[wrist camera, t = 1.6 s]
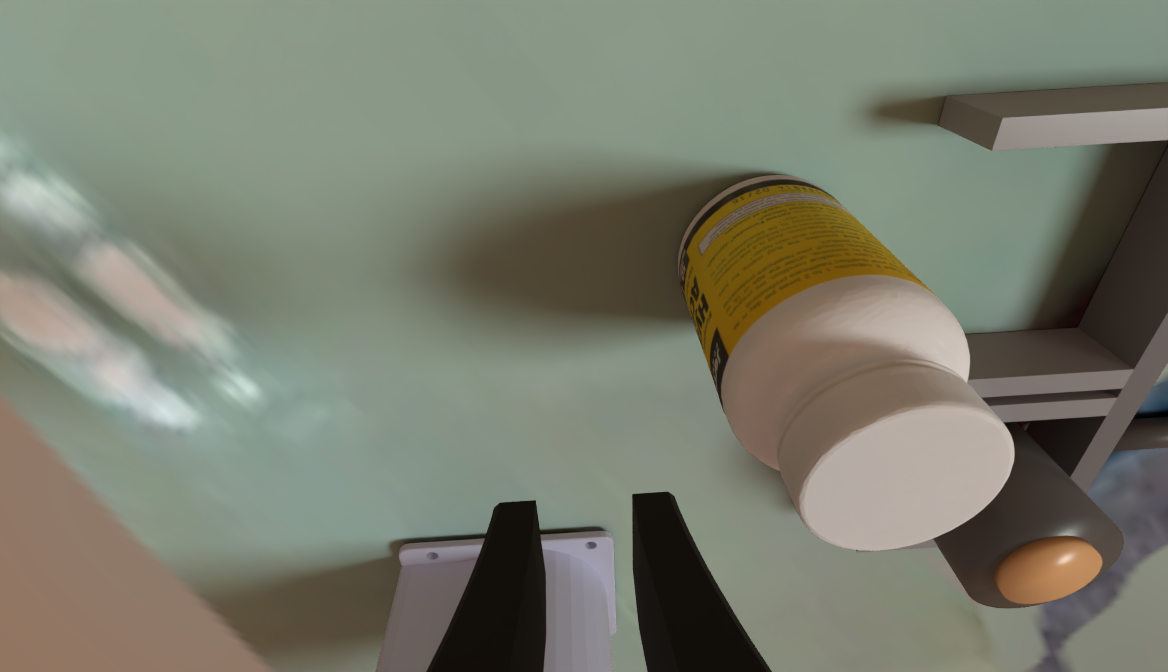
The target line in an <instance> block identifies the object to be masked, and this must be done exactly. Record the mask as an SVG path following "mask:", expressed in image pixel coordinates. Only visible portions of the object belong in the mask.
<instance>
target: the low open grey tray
mask: <svg viewBox="0 0 1168 672" xmlns="http://www.w3.org/2000/svg"><path fill="white" fill-rule="evenodd" d="M939 126H941V127H943V128H945V129H947V130H949V131H951V132H953V133H956V134H958V135H960V136H962V137H964V138H966V139H968V140H970V141H972V142H974V143H977V144H979V145H981V146H983V147H985V148H987V149H989V150H991V151H996V150H1012V149H1029V148H1045V147H1061V146H1077V145H1094V144H1110V143H1126V142H1142V141H1159V140H1168V83H1152V84H1136V85H1120V86H1103V87H1087V88H1070V89H1054V90H1037V91H1021V92H1004V93H988V94H972V95H955V96H946V100H945V103H944V107H943V110H942V114H941V118H940V121H939ZM965 337H966V339H967V343H968V348H969V353H970V368H969V376H968V381H967V383H968V384H969V385H970V386H971V387H972V388H973V389H974V390H975V391H976V392H977V394H978V395H979V396H980V397H981V398H982V399H983V400H984V401H985V402H986V403H987V405H988V406H989V407H990V408H991V409H992V411H993V412H994V413H995V414H996V415H997V416H998V417H999V418H1000V419H1001V421H1002V422H1003V423H1004V424H1005V426H1006V427H1007V429H1008V431H1009V432H1010V434H1011V437H1012V440H1013V443H1014V452H1015V455H1014V463H1013V466H1012V469H1011V473H1010V475H1009V477H1008V479H1007V481H1006V483H1005V484H1004V486H1003V487H1002V489H1001V491H1000V492H999V493H998V494H997V495H996V497H995V498H994V499H993V500H992V501H991V502H990V503H989V504H988V505H987V506H986V507H985V508H984V509H983V510H981V511H980V512H979V513H978V514H976V515H975V516H974V517H972V518H971V519H969V520H968V521H966V522H965V523H963V524H961V525H959V526H958V527H956V528H954V529H953V530H951V531H949V532H947V533H944V534H942V535H940V536H938V537H935V538H933V539H930V540H927V541H925V542H921V543H918V544H914V545H911V546H906V547H901V548H896V549H889V550H900V549H915V548H930V547H938V548H939V549H940V551H941V552H942V554H943V555H944V557H945V559H946V560H947V562H948V563H949V565H950V566H951V568H952V570H953V571H954V573H955V574H956V576H957V577H958V579H959V581H960V582H961V584H962V585H963V587H964V589H965V590H966V592H967V593H968V595H969V596H970V597H971V598H972V599H973V600H975V601H976V602H978V603H980V604H983V605H986V606H990V607H995V608H1021V607H1029V606H1034V605H1039V604H1043V603H1047V602H1050V601H1053V600H1056V599H1059V598H1062V597H1065V596H1067V595H1069V594H1071V593H1073V592H1075V591H1077V590H1079V589H1081V588H1083V587H1085V586H1087V585H1088V584H1090V583H1092V582H1093V581H1094V580H1096V579H1097V578H1099V577H1100V576H1101V575H1102V574H1104V573H1105V572H1106V571H1107V570H1108V569H1109V568H1110V567H1111V566H1112V565H1113V564H1114V562H1115V561H1116V560H1117V558H1118V557H1119V555H1120V553H1121V551H1122V548H1123V544H1124V540H1123V535H1122V532H1121V531H1120V529H1119V528H1118V527H1117V526H1116V525H1115V524H1114V523H1113V522H1112V521H1111V520H1110V518H1109V517H1108V516H1107V515H1106V514H1105V513H1104V512H1103V511H1102V510H1101V509H1100V508H1099V507H1098V506H1097V505H1096V504H1095V503H1094V502H1093V501H1092V500H1091V499H1090V498H1089V497H1088V496H1087V495H1086V492H1087V491H1088V489H1089V488H1090V486H1091V484H1092V483H1093V481H1094V480H1095V478H1096V476H1097V475H1098V473H1099V472H1100V470H1101V468H1102V467H1103V465H1104V464H1105V462H1106V460H1107V459H1108V457H1109V456H1110V454H1111V452H1112V451H1124V450H1139V449H1154V448H1168V417H1156V418H1141V419H1133V417H1134V416H1135V414H1136V412H1137V411H1138V409H1139V408H1140V406H1141V404H1142V403H1143V401H1144V400H1145V398H1146V396H1147V395H1148V393H1149V392H1150V390H1151V388H1152V387H1153V385H1154V384H1155V382H1156V380H1157V379H1158V377H1159V376H1160V374H1161V372H1162V371H1163V369H1164V368H1165V366H1166V364H1167V363H1168V147H1167V149H1166V151H1165V153H1164V155H1163V157H1162V159H1161V161H1160V163H1159V165H1158V167H1157V169H1156V171H1155V173H1154V175H1153V177H1152V179H1151V181H1150V183H1149V185H1148V187H1147V189H1146V191H1145V193H1144V195H1143V197H1142V199H1141V201H1140V203H1139V205H1138V207H1137V209H1136V211H1135V213H1134V215H1133V217H1132V219H1131V221H1130V223H1129V225H1128V227H1127V229H1126V231H1125V233H1124V235H1123V237H1122V239H1121V241H1120V243H1119V245H1118V247H1117V249H1116V251H1115V253H1114V255H1113V257H1112V259H1111V261H1110V263H1109V265H1108V267H1107V269H1106V271H1105V273H1104V275H1103V277H1102V279H1101V281H1100V283H1099V285H1098V287H1097V289H1096V291H1095V293H1094V295H1093V297H1092V299H1091V301H1090V303H1089V305H1088V307H1087V309H1086V311H1085V313H1084V315H1083V317H1082V319H1081V321H1080V323H1079V325H1078V327H1077V328H1062V329H1046V330H1030V331H1015V332H999V333H983V334H967V335H965ZM1018 421H1031V422H1030V424H1029V426H1028V428H1027V430H1026V431H1025V430H1024V429H1023V428H1022V427H1021V426H1020V425H1019V424H1018V423H1017V422H1018ZM856 551H857V552H870V551H867V550H856ZM879 551H885V550H879Z"/></svg>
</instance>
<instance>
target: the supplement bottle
mask: <svg viewBox="0 0 1168 672" xmlns="http://www.w3.org/2000/svg"><path fill="white" fill-rule="evenodd" d="M678 275H679V281H680V285H681V289H682V292H683V295H684V298H685V301H686V304H687V307H688V309H689V312H690V315H691V317H692V320H693V323H694V326H695V329H696V332H697V335H698V338H699V340H700V343H701V346H702V349H703V352H704V354H705V357H706V360H707V363H708V366H709V369H710V372H711V375H712V377H713V380H714V383H715V387H716V390H717V392H718V395H719V399H720V402H721V405H722V408H723V411H724V413H725V415H726V417H727V419H728V422H729V424H730V426H731V428H732V430H733V432H734V434H735V436H736V437H737V438H738V440H739V441H740V442H741V444H742V445H743V446H744V447H745V448H746V449H747V450H748V451H749V452H750V453H751V454H752V455H753V456H755V457H756V458H757V459H758V460H760V461H761V462H763V463H765V464H766V465H768V466H770V467H772V468H774V469H776V470H779V471H780V473H781V476H782V479H783V481H784V483H785V485H786V487H787V489H788V491H789V494H790V496H791V498H792V501H793V503H794V506H795V508H796V510H797V513H798V515H799V516H800V518H801V520H802V522H803V523H804V524H805V526H806V527H807V528H808V529H809V530H810V531H811V532H812V533H813V534H814V535H816V536H817V537H819V538H820V539H822V540H824V541H826V542H828V543H830V544H833V545H836V546H839V547H842V548H848V549H854V550H867V551H879V550H889V549H896V548H901V547H906V546H911V545H914V544H918V543H921V542H925V541H927V540H930V539H933V538H935V537H938V536H940V535H942V534H944V533H947V532H949V531H951V530H953V529H954V528H956V527H958V526H959V525H961V524H963V523H965V522H966V521H968V520H969V519H971V518H972V517H974V516H975V515H976V514H978V513H979V512H980V511H981V510H983V509H984V508H985V507H986V506H987V505H988V504H989V503H990V502H991V501H992V500H993V499H994V498H995V497H996V495H997V494H998V493H999V492H1000V491H1001V489H1002V487H1003V486H1004V484H1005V483H1006V481H1007V479H1008V477H1009V475H1010V473H1011V469H1012V466H1013V463H1014V455H1015V452H1014V443H1013V440H1012V437H1011V434H1010V432H1009V431H1008V429H1007V427H1006V426H1005V424H1004V423H1003V422H1002V421H1001V419H1000V418H999V417H998V416H997V415H996V414H995V413H994V412H993V411H992V409H991V408H990V407H989V406H988V405H987V403H986V402H985V401H984V400H983V399H982V398H981V397H980V396H979V395H978V394H977V392H976V391H975V390H974V389H973V388H972V387H971V386H970V385H969V384H968V383H967V381H968V376H969V368H970V353H969V348H968V343H967V339H966V337H965V334H964V332H963V330H962V328H961V326H960V324H959V322H958V321H957V319H956V318H955V317H954V315H953V314H952V313H951V311H950V310H949V309H948V308H947V307H946V306H945V305H944V304H943V303H942V302H941V301H940V300H939V298H938V297H937V296H936V295H935V294H934V293H933V292H932V291H931V290H930V289H929V288H928V287H926V286H925V285H924V284H923V283H922V282H921V281H920V280H919V279H918V278H917V277H916V276H915V275H914V274H913V273H912V272H911V271H910V270H909V269H908V268H906V267H905V266H904V265H903V264H902V263H901V262H900V261H899V260H898V259H897V258H896V257H895V256H894V255H893V254H892V253H891V252H890V251H889V250H888V249H887V248H886V247H885V246H884V245H883V244H882V243H881V242H880V241H879V240H878V239H877V238H876V237H874V236H873V235H872V234H871V233H870V232H869V231H868V230H867V229H866V228H865V227H864V226H863V225H862V224H861V223H860V222H859V221H858V220H857V219H856V218H855V217H854V216H853V215H852V214H851V213H850V212H849V211H848V210H847V209H846V208H844V207H843V206H842V205H841V204H840V203H839V202H838V201H837V200H836V199H835V198H834V197H832V196H831V195H830V194H829V193H828V192H826V191H825V190H823V189H822V188H821V187H819V186H817V185H815V184H813V183H811V182H809V181H807V180H804V179H801V178H797V177H793V176H787V175H769V176H761V177H756V178H752V179H748V180H746V181H743V182H740V183H738V184H735V185H733V186H731V187H729V188H728V189H726V190H724V191H723V192H721V193H720V194H718V195H717V196H716V197H715V198H713V199H712V200H711V201H709V202H708V203H707V204H706V205H705V206H704V207H703V208H702V209H701V211H700V212H699V213H698V214H697V215H696V216H695V218H694V219H693V221H692V222H691V223H690V225H689V227H688V228H687V230H686V232H685V234H684V237H683V240H682V242H681V246H680V250H679V256H678Z"/></svg>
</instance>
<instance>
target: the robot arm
mask: <svg viewBox="0 0 1168 672" xmlns="http://www.w3.org/2000/svg"><path fill="white" fill-rule="evenodd" d="M632 504H633V575H634V584H635V594H636V604H637V613H638V622H639V630H640V635H641V640H642V645H643V650H644V656H645V661H646V666H647V671H648V672H772V671H771V670H770V668H769V667H768V665H767V664H766V662H765V661H764V659H763V658H762V656H761V655H760V653H759V652H758V650H757V648H756V647H755V645H754V644H753V642H752V641H751V639H750V638H749V636H748V635H747V633H746V631H745V630H744V628H743V627H742V625H741V623H740V622H739V620H738V619H737V617H736V615H735V614H734V612H733V610H732V609H731V607H730V605H729V603H728V602H727V600H726V598H725V597H724V595H723V593H722V592H721V590H720V588H719V587H718V585H717V583H716V581H715V580H714V578H713V576H712V574H711V572H710V571H709V569H708V567H707V565H706V563H705V561H704V560H703V558H702V556H701V554H700V552H699V550H698V548H697V546H696V544H695V542H694V540H693V538H692V536H691V534H690V532H689V530H688V528H687V526H686V523H685V521H684V519H683V517H682V514H681V512H680V510H679V507H678V505H677V502H676V500H675V497H674V496H673V495H672V494H671V493H669V492H656V493H641V494H632ZM398 556H399V560H400V563H401V565H402V567H401V571H400V575H399V579H398V583H397V587H396V591H395V595H394V599H393V603H392V607H391V611H390V615H389V620H388V624H387V628H386V632H385V636H384V640H383V644H382V648H381V652H380V656H379V660H378V664H377V668H376V672H613V666H612V654H611V641H610V636H612V635H613V634H614V633H615V632H616V609H615V579H614V549H613V537H612V534H610V533H609V532H607V531H590V532H575V533H559V534H544V535H540V528H539V521H538V514H537V507H536V500H534V501H519V502H504V503H499V504H498V505H497V506H496V507H495V508H494V510H493V514H492V518H491V521H490V524H489V528H488V531H487V534H486V537H485V538H483V539H468V540H453V541H438V542H423V543H409V544H405V545H403V546H401V548H400V550H399V554H398Z"/></svg>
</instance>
